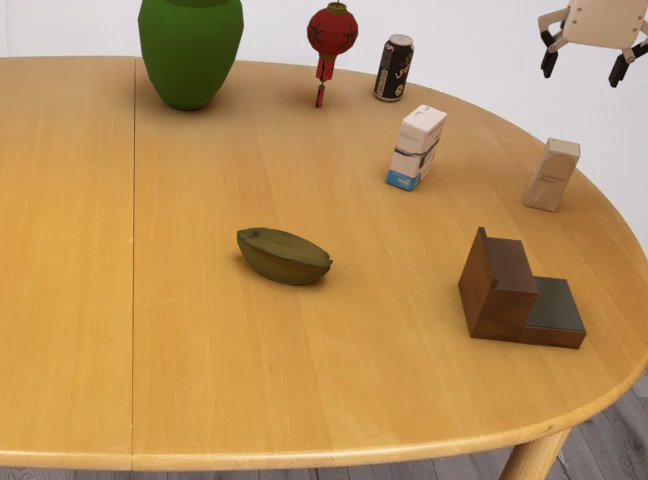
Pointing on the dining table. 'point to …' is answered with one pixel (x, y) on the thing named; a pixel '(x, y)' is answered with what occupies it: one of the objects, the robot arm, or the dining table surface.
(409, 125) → the ink box
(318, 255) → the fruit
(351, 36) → the lantern
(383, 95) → the beverage can
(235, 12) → the vase
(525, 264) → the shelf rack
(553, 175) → the box
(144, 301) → the dining table surface
